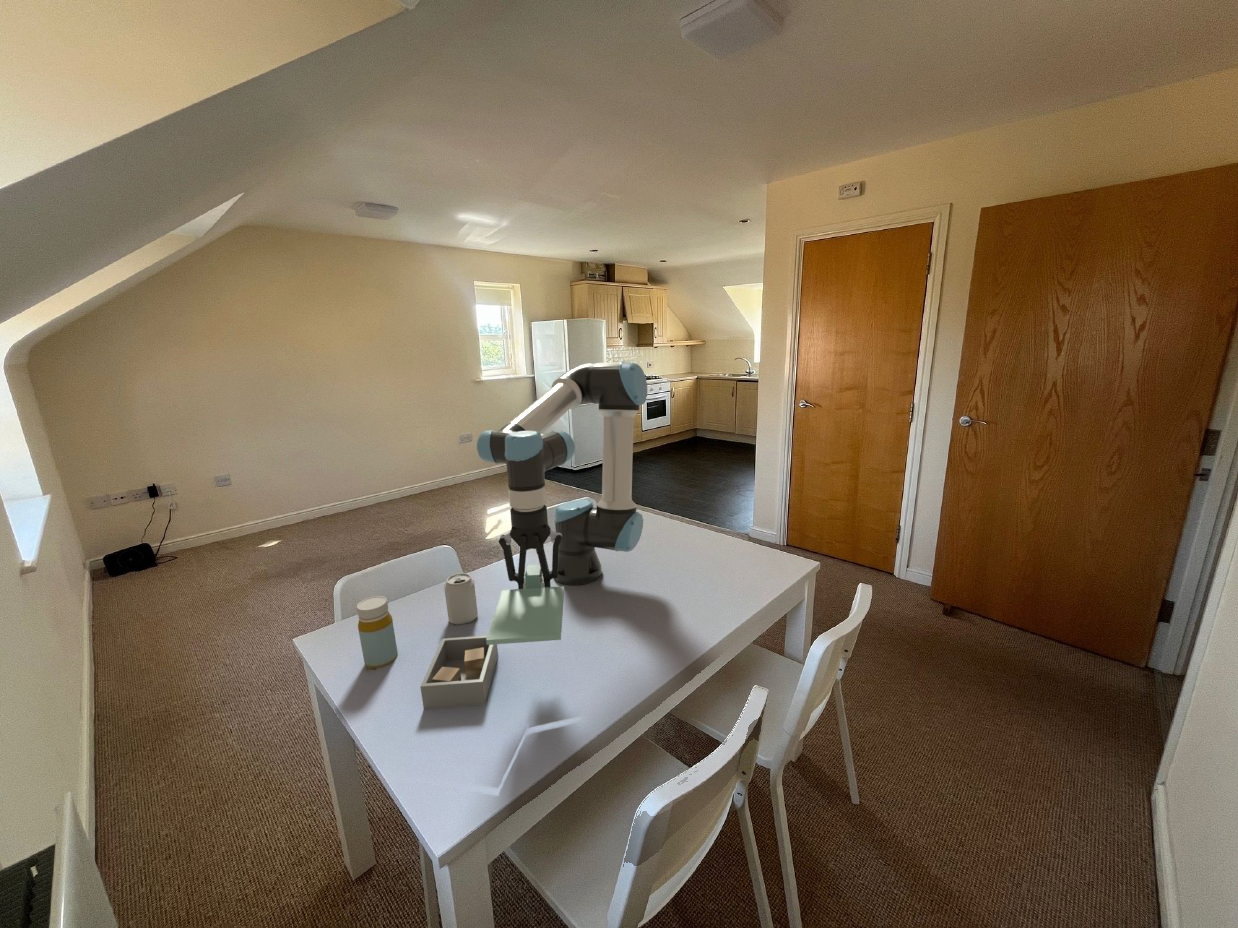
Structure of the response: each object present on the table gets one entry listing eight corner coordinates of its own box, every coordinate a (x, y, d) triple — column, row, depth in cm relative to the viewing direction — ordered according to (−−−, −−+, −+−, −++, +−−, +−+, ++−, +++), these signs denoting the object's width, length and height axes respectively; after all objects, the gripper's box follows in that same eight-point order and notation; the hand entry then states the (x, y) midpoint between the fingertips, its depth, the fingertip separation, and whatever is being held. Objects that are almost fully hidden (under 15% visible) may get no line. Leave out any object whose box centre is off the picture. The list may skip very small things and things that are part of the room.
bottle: (376, 674, 109) (366, 614, 106) (358, 664, 113) (347, 606, 109) (404, 657, 115) (395, 599, 111) (386, 648, 119) (377, 592, 115)
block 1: (461, 684, 104) (459, 668, 103) (452, 697, 100) (450, 680, 99) (444, 682, 105) (442, 666, 104) (434, 695, 101) (431, 679, 100)
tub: (498, 657, 114) (496, 634, 112) (485, 707, 98) (482, 681, 97) (445, 661, 113) (442, 638, 112) (424, 712, 98) (420, 686, 96)
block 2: (485, 662, 111) (483, 647, 110) (485, 673, 107) (483, 657, 106) (467, 666, 110) (465, 650, 109) (466, 677, 106) (464, 661, 105)
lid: (565, 591, 110) (563, 563, 109) (561, 654, 88) (559, 619, 87) (507, 595, 110) (504, 566, 108) (488, 659, 87) (484, 624, 86)
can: (451, 630, 126) (445, 587, 123) (446, 616, 132) (441, 575, 129) (480, 621, 129) (476, 580, 126) (475, 608, 135) (470, 568, 133)
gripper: (567, 498, 107) (573, 596, 112) (492, 502, 106) (501, 601, 111) (566, 509, 99) (572, 614, 105) (485, 514, 98) (496, 619, 104)
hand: (536, 607), depth 108 cm, fingers closed on lid, 3 cm apart
